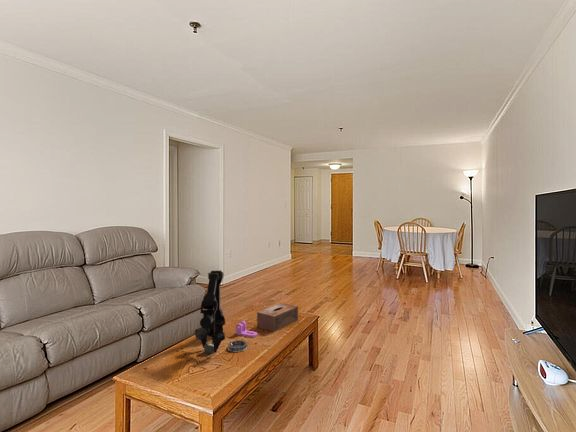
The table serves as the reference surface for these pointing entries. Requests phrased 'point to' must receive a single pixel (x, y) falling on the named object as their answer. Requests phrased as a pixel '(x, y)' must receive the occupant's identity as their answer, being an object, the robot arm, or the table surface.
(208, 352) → the cap
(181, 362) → the table surface
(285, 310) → the tissue box cover
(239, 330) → the bracket
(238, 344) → the shallow metal dish
